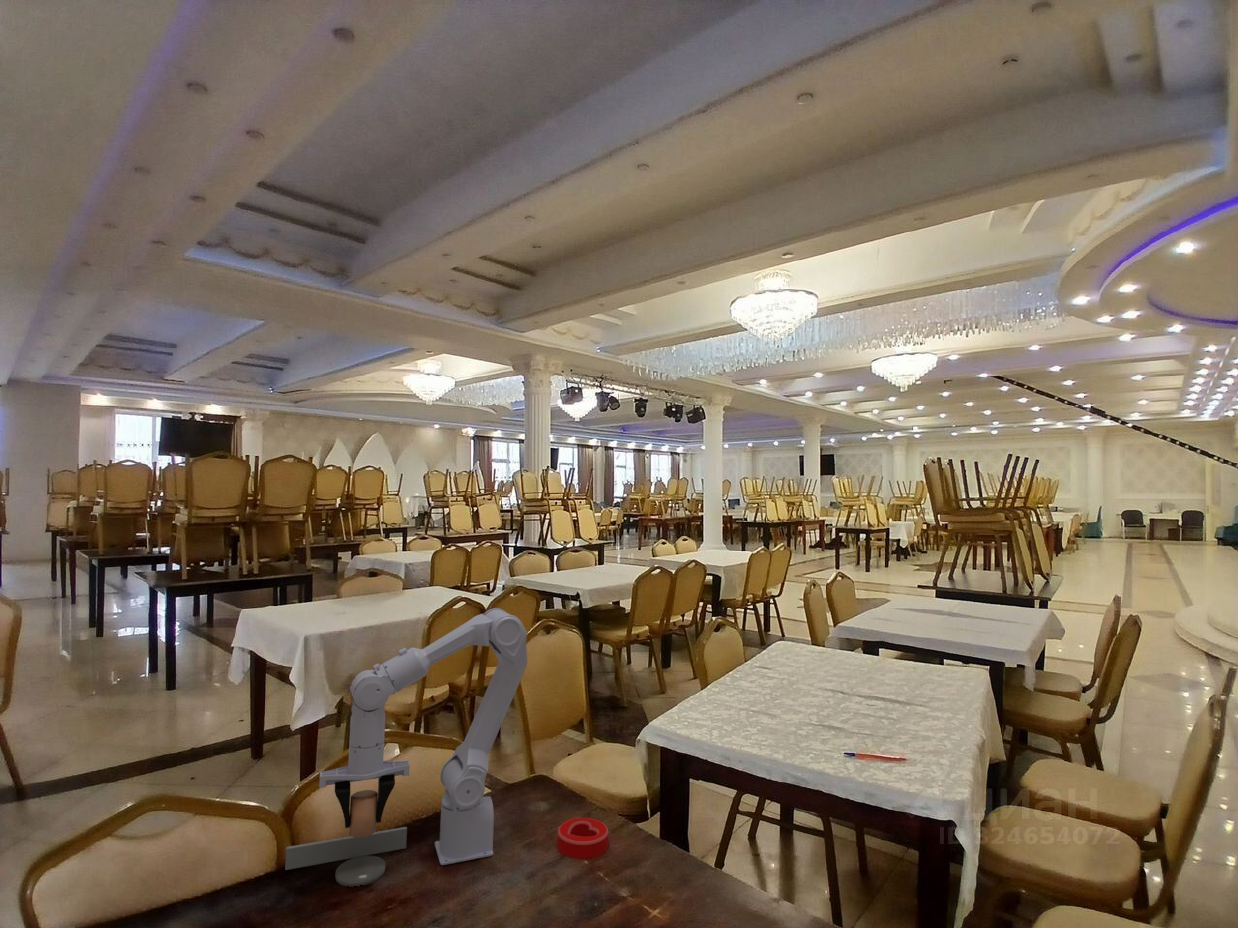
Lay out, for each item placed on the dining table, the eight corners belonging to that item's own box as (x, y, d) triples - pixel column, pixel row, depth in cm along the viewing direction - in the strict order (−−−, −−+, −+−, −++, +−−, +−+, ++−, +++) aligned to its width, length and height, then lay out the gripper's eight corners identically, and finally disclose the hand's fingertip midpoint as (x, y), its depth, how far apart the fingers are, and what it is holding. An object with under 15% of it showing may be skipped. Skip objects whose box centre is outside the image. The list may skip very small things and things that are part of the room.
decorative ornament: (546, 849, 120) (547, 832, 120) (577, 828, 128) (578, 812, 128) (588, 866, 115) (588, 847, 115) (617, 843, 123) (618, 826, 123)
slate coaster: (383, 856, 116) (383, 852, 116) (386, 880, 108) (386, 875, 109) (335, 865, 113) (335, 860, 113) (335, 890, 105) (335, 885, 105)
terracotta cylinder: (375, 823, 114) (377, 788, 114) (376, 834, 110) (378, 798, 110) (348, 827, 112) (350, 792, 113) (349, 839, 108) (350, 802, 109)
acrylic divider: (405, 845, 120) (406, 826, 120) (406, 848, 119) (406, 828, 119) (285, 867, 112) (286, 846, 112) (285, 869, 111) (286, 849, 111)
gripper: (408, 729, 119) (404, 805, 118) (322, 739, 113) (317, 819, 112) (412, 743, 112) (408, 823, 111) (320, 753, 106) (316, 838, 105)
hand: (363, 822), depth 111 cm, fingers closed on terracotta cylinder, 4 cm apart
